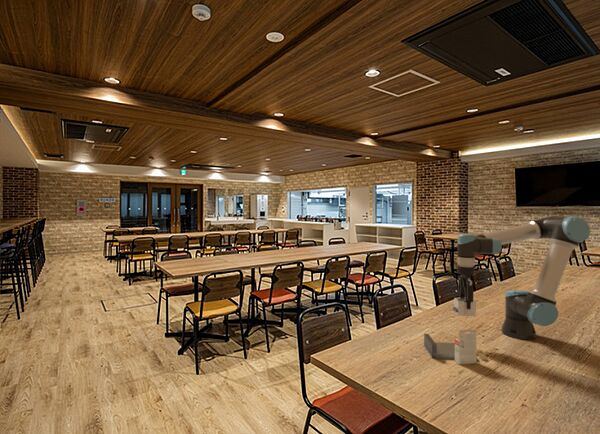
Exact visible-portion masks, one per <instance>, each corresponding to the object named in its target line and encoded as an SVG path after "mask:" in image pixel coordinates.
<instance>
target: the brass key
mask: <svg viewBox="0 0 600 434" xmlns="http://www.w3.org/2000/svg"><path fill="white" fill-rule="evenodd" d="M476 357H478V358H479V359H481V361H486V362H487V361H488V357H487V355H485V354H484V353H483V351H482V350H480V349H476Z"/></svg>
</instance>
